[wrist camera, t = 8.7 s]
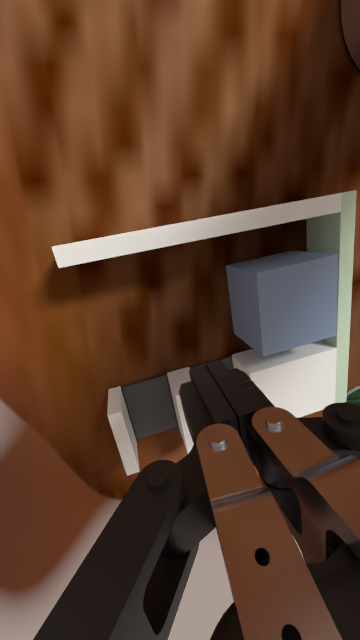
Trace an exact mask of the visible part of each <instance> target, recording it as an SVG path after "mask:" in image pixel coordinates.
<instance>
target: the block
mask: <svg viewBox="0 0 360 640" xmlns="http://www.w3.org/2000/svg"><path fill="white" fill-rule="evenodd" d="M226 271H227V280H228V288H229V297H230V305H231V313H232V322H233V330H234V334H235V335H236V336H238V337H239V338H240V339H241V340H243V341H244V342H245V343H246V344H248V345H249V346H250V347H251V348H253V349H254V350H255V351H256V352H258V353H259V354H260V355H261V356H263V357H265V356H268V355H272V354H275V353H279V352H282V351H286V350H289V349H292V348H296V347H299V346H303V345H306V344H309V343H313V342H316V341H320V340H323V339H326V338H330V337H333V336H336V329H337V289H338V254H332V253H319V252H306V251H293V250H292V251H288V252H283V253H279V254H274V255H270V256H266V257H261V258H257V259H252V260H248V261H243V262H239V263H234V264H230V265H226Z"/></svg>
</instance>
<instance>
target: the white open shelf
mask: <svg viewBox="0 0 360 640" xmlns="http://www.w3.org/2000/svg"><path fill="white" fill-rule="evenodd" d="M355 211H356V190H354V191H349V192H343V193H338V194H332V195H327V196H322V197H316V198H311V199H306V200H300V201H295V202H289V203H284V204H279V205H273V206H268V207H263V208H257V209H252V210H246V211H241V212H236V213H230V214H225V215H220V216H214V217H209V218H203V219H198V220H193V221H187V222H182V223H177V224H171V225H166V226H160V227H155V228H150V229H144V230H139V231H133V232H128V233H123V234H117V235H112V236H107V237H101V238H96V239H90V240H85V241H80V242H74V243H69V244H64V245H58V246H53V247H52V250H53V253H54V256H55V259H56V262H57V265H58V268H62V267H67V266H72V265H77V264H82V263H87V262H92V261H97V260H102V259H107V258H112V257H117V256H122V255H127V254H132V253H137V252H142V251H147V250H152V249H157V248H162V247H167V246H172V245H177V244H182V243H187V242H192V241H197V240H202V239H207V238H212V237H217V236H222V235H227V234H232V233H237V232H242V231H247V230H252V229H257V228H262V227H267V226H272V225H277V224H282V223H287V222H292V221H297V220H302V219H306V224H307V252H319V253H332V254H338V289H337V329H336V336H333V337H330V338H326V339H323V340H320V341H316V342H313V343H309V344H306V345H303V346H299V347H296V348H292V349H289V350H286V351H282V352H279V353H275V354H272V355H268V356H265V357H263V356H261V355H260V354H259V353H258V352H256V351H255V350H254V349H250V350H246V351H243V352H239V353H236V354H232V355H231V356H232V358H231V356H229V357H225V358H222V359H218V360H214V361H211V362H207V363H204V364H200V365H197V366H193V367H190V368H189V367H186V368H182V369H179V370H175V371H172V372H168V373H167V377H168V381H169V386H170V390H171V395H172V399H173V404H174V408H175V413H176V417H177V422H178V426H179V429H180V432H181V435H182V438H183V441H184V444H185V447H186V450H187V453H188V454H189V452H190V451H191V449H192V447H193V445H194V444H193V441H192V438H191V435H190V432H189V429H188V426H187V423H186V420H185V416H184V412H183V408H182V404H181V399H180V395H179V390H180V386H181V384H183V383H186V382H190V381H191V379H190V375H189V370H190V369H193V368H197V367H200V366H204V365H207V364H210V363H214V362H217V361H222V362H223V363H224V364H225V366H226V367H227V368H228V370H230V369H233V368H237V369H239V370H241V371H243V372H245V373H246V374H247V375H248V376H249V377H250V379H251V381H253V382H254V383H255V384H256V386H257V387H258V388H259V389H260V390H261V391H262V392H263V393H264V395H265V396H266V397H267V398H268V399H269V400H270V402H271V403H272V404H273V405H274V406H275V407H279V408H282V409H285V410H287V411H289V412H290V413H291V414H293V415H294V416H295V417H296V418H299V417H302V416H305V415H308V414H311V413H314V412H317V411H320V410H323V409H324V408H325V407H326V406H328V405H330V404H333V403H344V402H346V400H347V379H348V358H349V337H350V316H351V295H352V274H353V253H354V232H355ZM232 364H233V366H232ZM167 377H166V374H165V375H161V376H158V377H154V378H151V379H147V380H143V381H140V382H136V383H133V384H129V385H126V386H122V390H123V393H124V396H123V393H122V390H121V386H118V387H115V388H111V389H108V413H107V416H108V419H109V422H110V425H111V428H112V431H113V434H114V437H115V441H116V444H117V447H118V450H119V453H120V456H121V459H122V462H123V465H124V468H125V471H126V474H127V476H128V475H131V474H134V473H137V472H140V469H139V460H138V451H137V442H136V437H137V440H139V439H142V438H145V437H148V436H152V435H155V434H158V433H161V432H164V431H167V430H170V429H174V428H177V427H178V426H177V422H176V417H175V413H174V408H173V404H172V399H171V395H170V390H169V386H168V381H167ZM124 397H125V400H126V403H127V407H128V410H129V413H128V410H127V407H126V403H125V400H124ZM129 414H130V417H131V420H132V423H131V420H130V417H129ZM132 424H133V427H134V430H133V427H132ZM134 431H135V434H136V437H135V434H134Z"/></svg>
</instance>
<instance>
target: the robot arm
mask: <svg viewBox="0 0 360 640" xmlns="http://www.w3.org/2000/svg"><path fill="white" fill-rule="evenodd" d="M341 19H342V27H343V33H344V38H345V42H346V44H347V47H348V50H349V53H350V55H351V57H352V59H353V60H354V62H355V63H356V65H357V67H358V68H359V69H360V0H341ZM189 375H190V379H191V381H190V382H186V383H183V384H181V386H180V390H179V395H180V399H181V404H182V408H183V412H184V416H185V420H186V423H187V426H188V429H189V432H190V435H191V438H192V441H193V444H194V445H193V447H192V449H191V451H190V452H189V454H188V455H187V456H186V457H184V458H183V459H182V460H180V461H179V462H177V463H176V464H175V463H174V462H172V461H169V460H158V461H155V462H152V463H150V464H149V465H147V466H146V467H145V468H143V469H142V471H141V472H140V473H139V474H138V476H137V478H136V479H135V481H134V482H133V484H132V485H131V487H130V489H129V490H128V492H127V493H126V495H125V496H124V498H123V500H122V501H121V503H120V504H119V506H118V507H117V509H116V511H115V512H114V514H113V515H112V517H111V518H110V520H109V522H108V523H107V525H106V526H105V528H104V529H103V531H102V533H101V534H100V536H99V537H98V539H97V540H96V542H95V544H94V545H93V547H92V548H91V550H90V551H89V553H88V554H87V556H86V558H85V559H84V561H83V563H82V564H81V566H80V567H79V569H78V570H77V572H76V574H75V575H74V576H73V578H72V579H71V581H70V583H69V584H68V586H67V587H66V589H65V590H64V592H63V594H62V595H61V597H60V599H59V600H58V602H57V603H56V605H55V606H54V608H53V609H52V611H51V613H50V614H49V616H48V617H47V619H46V620H45V622H44V623H43V625H42V627H41V628H40V630H39V631H38V633H37V634H36V636H35V638H34V639H33V640H167V639H168V636H169V633H170V630H171V628H172V624H173V622H174V619H175V616H176V613H177V610H178V607H179V604H180V601H181V598H182V595H183V592H184V589H185V586H186V583H187V581H188V578H189V575H190V571H191V568H192V566H193V563H194V560H195V557H196V554H197V551H198V547H199V542H200V541H201V540H202V539H203V538H204V537H205V536H206V535H207V534H209V533H210V532H211V531H212V530H213V529H214V528H215V527H216V529H217V533H218V537H219V542H220V546H221V550H222V554H223V558H224V563H225V567H226V571H227V575H228V579H229V583H230V588H231V592H232V596H233V600H234V602H233V603H232V604H231V606H230V607H229V608H228V609H227V611H226V612H225V613H224V614H223V616H222V618H221V619H220V621H219V622H218V624H217V626H216V628H215V630H214V633H213V634H212V637H211V639H210V640H360V406H358V405H354V404H350V403H333V404H330V405H328V406H326V407H325V408H324V410H323V417H314V418H296V417H295V416H294V415H293V414H291V413H290V412H289V411H287V410H285V409H282V408H279V407H275V406H274V405H273V404H272V403H271V402H270V400H269V399H268V398H267V397H266V396H265V395H264V393H263V392H262V391H261V390H260V389H259V388H258V387H257V386H256V384H255V383H254V382H253V381H251V379H250V377H249V376H248V375H247V374H246V373H245V372H243V371H241V370H239V369H237V368H233V369H230V370H228V368H227V367H226V366H225V364H224V363H223V362H222V361H217V362H214V363H210V364H207V365H204V366H200V367H197V368H193V369H190V370H189ZM254 465H255V467H256V469H257V471H258V473H259V477H258V475H257V473H256V471H255V469H254ZM292 535H293V536H292ZM293 537H294V538H293ZM294 539H295V540H296V542H297V544H298V546H299V548H300V550H301V552H302V555H303V557H302V555H301V553H300V551H299V549H298V547H297V545H296V543H295V540H294ZM303 558H304V559H303Z"/></svg>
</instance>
